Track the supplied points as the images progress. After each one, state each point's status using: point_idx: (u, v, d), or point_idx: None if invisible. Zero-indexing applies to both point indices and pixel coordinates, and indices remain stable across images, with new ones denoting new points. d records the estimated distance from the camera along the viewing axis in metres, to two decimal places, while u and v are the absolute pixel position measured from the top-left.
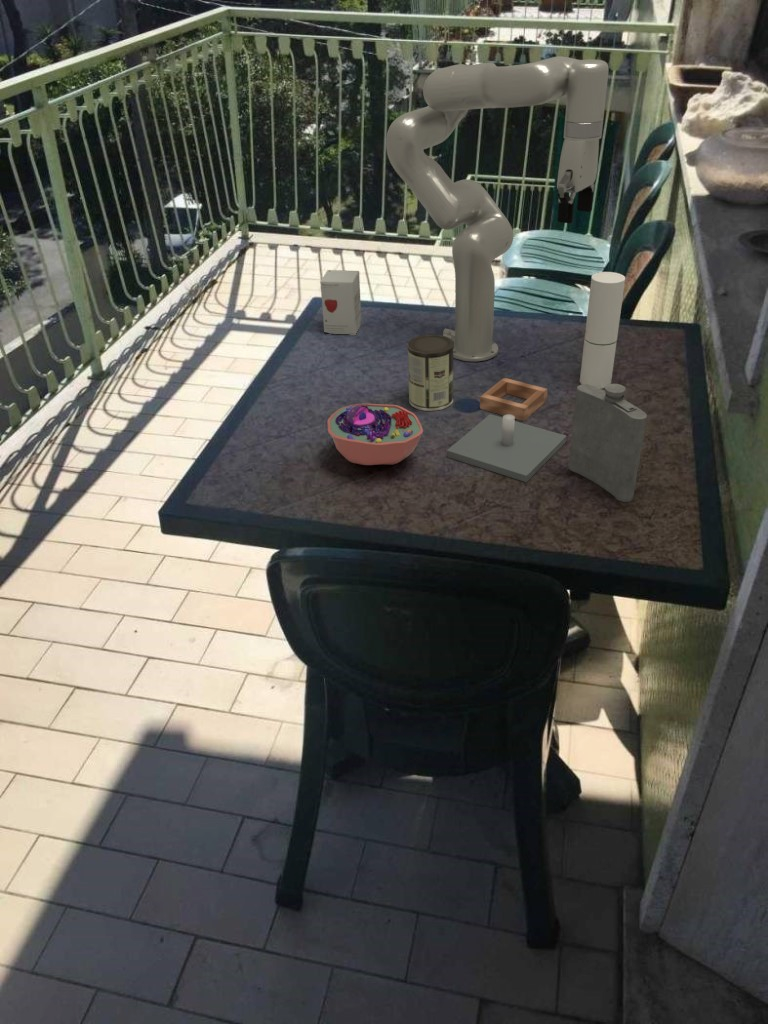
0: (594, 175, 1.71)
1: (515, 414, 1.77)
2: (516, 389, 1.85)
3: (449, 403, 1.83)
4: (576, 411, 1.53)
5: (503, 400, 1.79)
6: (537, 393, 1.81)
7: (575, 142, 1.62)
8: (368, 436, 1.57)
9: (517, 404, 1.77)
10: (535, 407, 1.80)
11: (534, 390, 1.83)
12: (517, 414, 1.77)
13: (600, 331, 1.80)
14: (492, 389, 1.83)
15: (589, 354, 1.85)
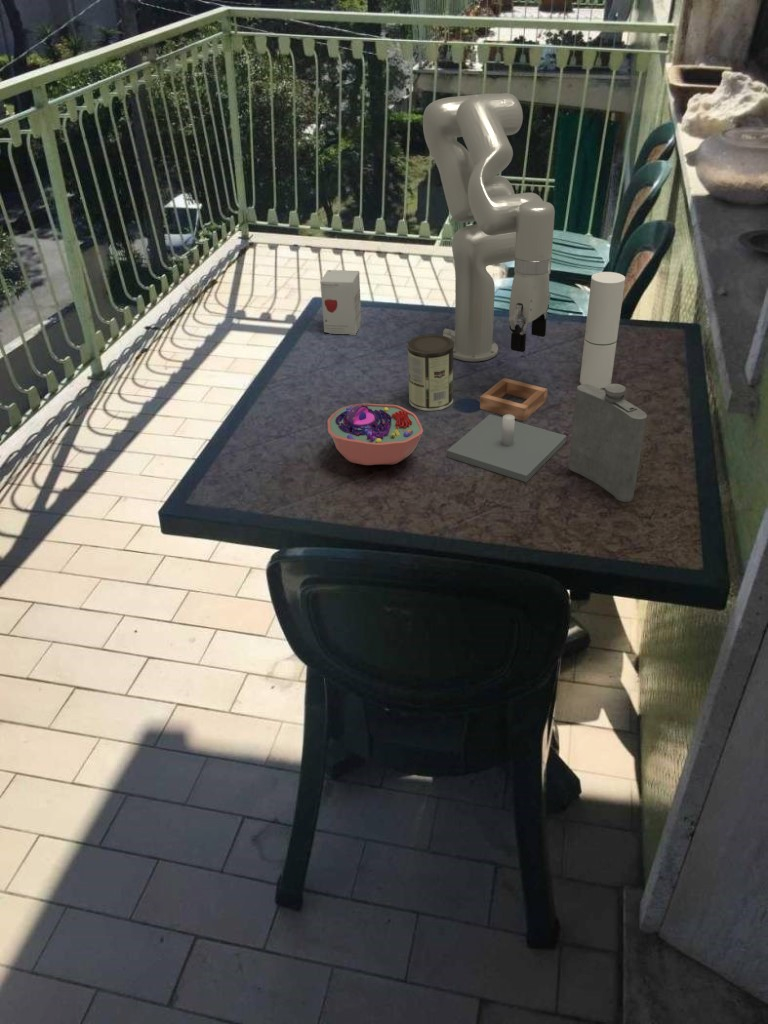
0: (546, 305, 1.75)
1: (515, 414, 1.77)
2: (516, 389, 1.85)
3: (449, 403, 1.83)
4: (576, 411, 1.53)
5: (503, 400, 1.79)
6: (537, 393, 1.81)
7: (524, 278, 1.66)
8: (368, 436, 1.57)
9: (517, 404, 1.77)
10: (535, 407, 1.80)
11: (534, 390, 1.83)
12: (517, 414, 1.77)
13: (600, 331, 1.80)
14: (492, 389, 1.83)
15: (589, 354, 1.85)
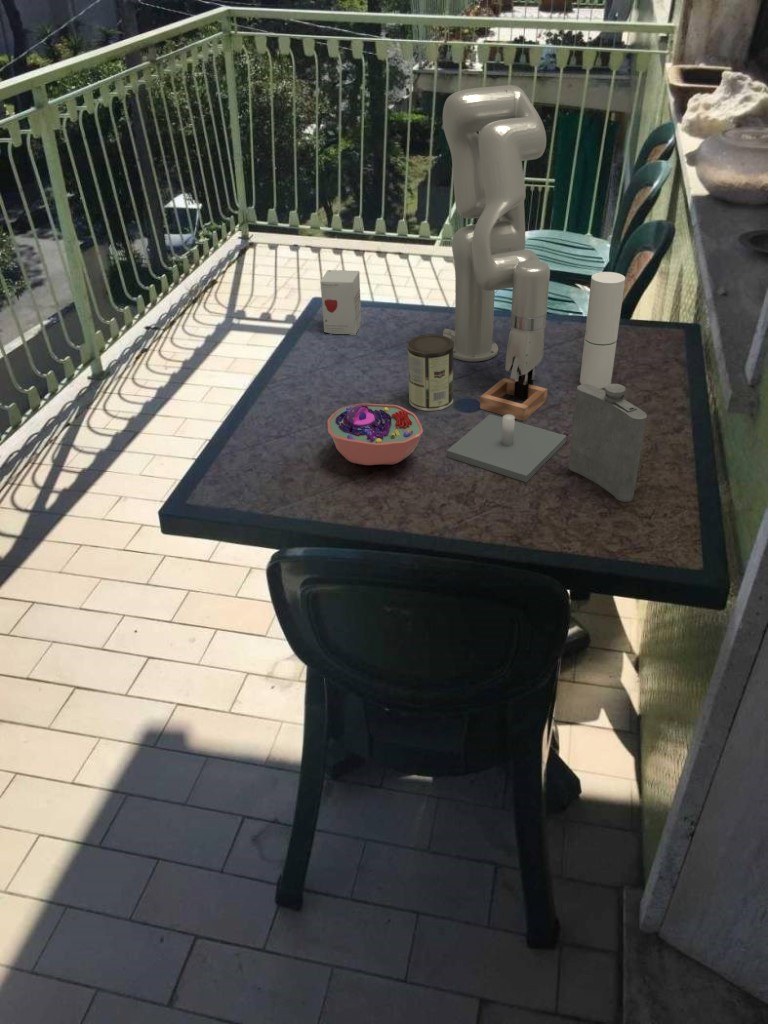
0: (540, 356, 1.82)
1: (515, 414, 1.77)
2: None
3: (449, 403, 1.83)
4: (576, 411, 1.53)
5: (503, 400, 1.79)
6: (537, 393, 1.81)
7: (520, 334, 1.74)
8: (368, 436, 1.57)
9: (517, 404, 1.77)
10: (535, 407, 1.80)
11: (534, 390, 1.83)
12: (517, 414, 1.77)
13: (600, 331, 1.80)
14: (492, 389, 1.83)
15: (589, 354, 1.85)
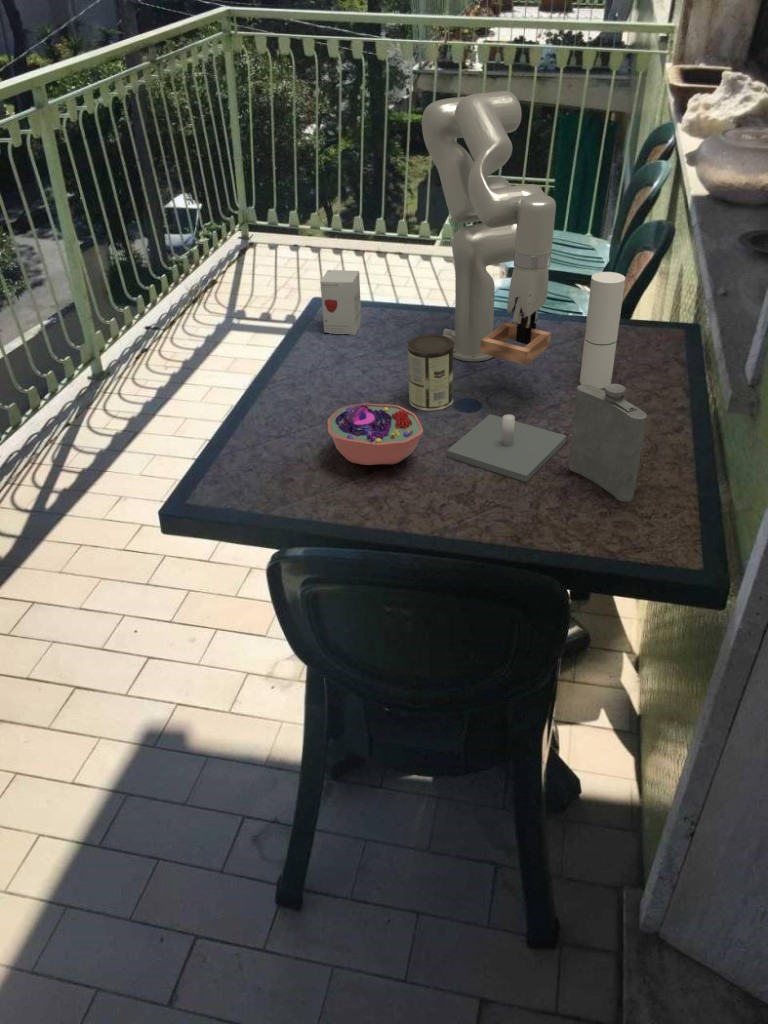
0: (544, 298, 1.75)
1: (517, 358, 1.71)
2: None
3: (449, 403, 1.83)
4: (576, 411, 1.53)
5: (505, 343, 1.72)
6: (540, 337, 1.74)
7: (524, 273, 1.66)
8: (368, 436, 1.57)
9: (519, 347, 1.70)
10: (537, 351, 1.73)
11: (537, 334, 1.76)
12: (519, 358, 1.70)
13: (600, 331, 1.80)
14: (493, 333, 1.76)
15: (589, 354, 1.85)
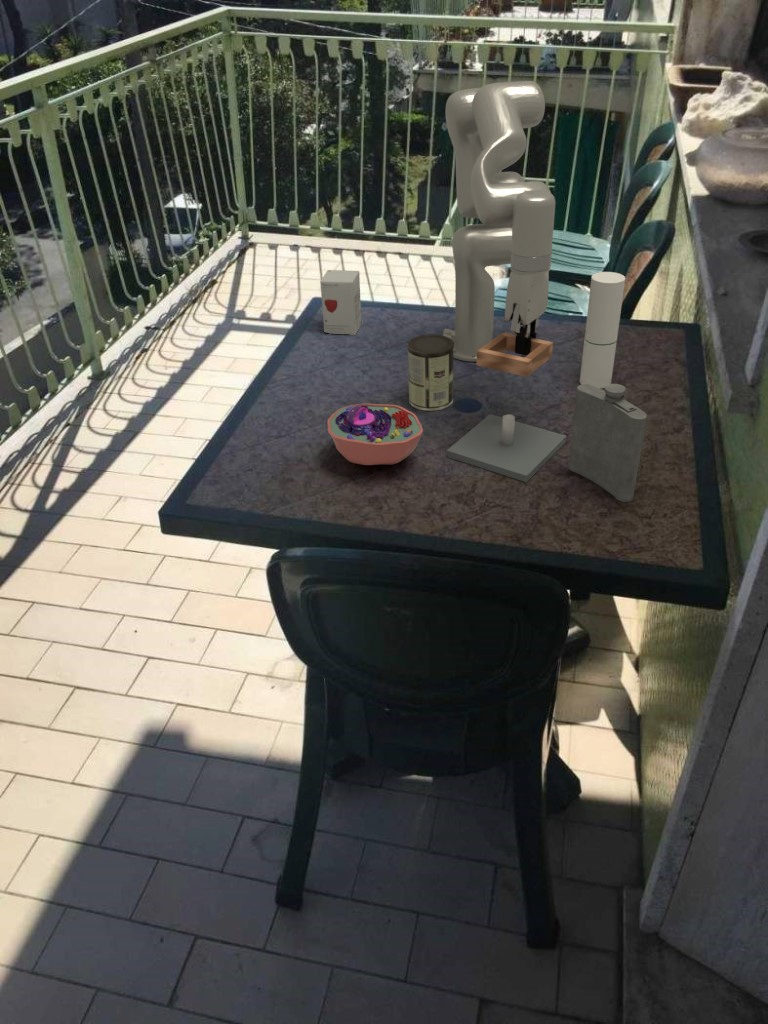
0: (545, 305, 1.60)
1: (517, 369, 1.55)
2: None
3: (449, 403, 1.83)
4: (576, 411, 1.53)
5: (503, 354, 1.56)
6: (541, 347, 1.58)
7: (522, 276, 1.51)
8: (368, 436, 1.57)
9: (519, 358, 1.55)
10: (539, 362, 1.57)
11: (538, 344, 1.61)
12: (519, 370, 1.55)
13: (600, 331, 1.80)
14: (490, 343, 1.61)
15: (589, 354, 1.85)
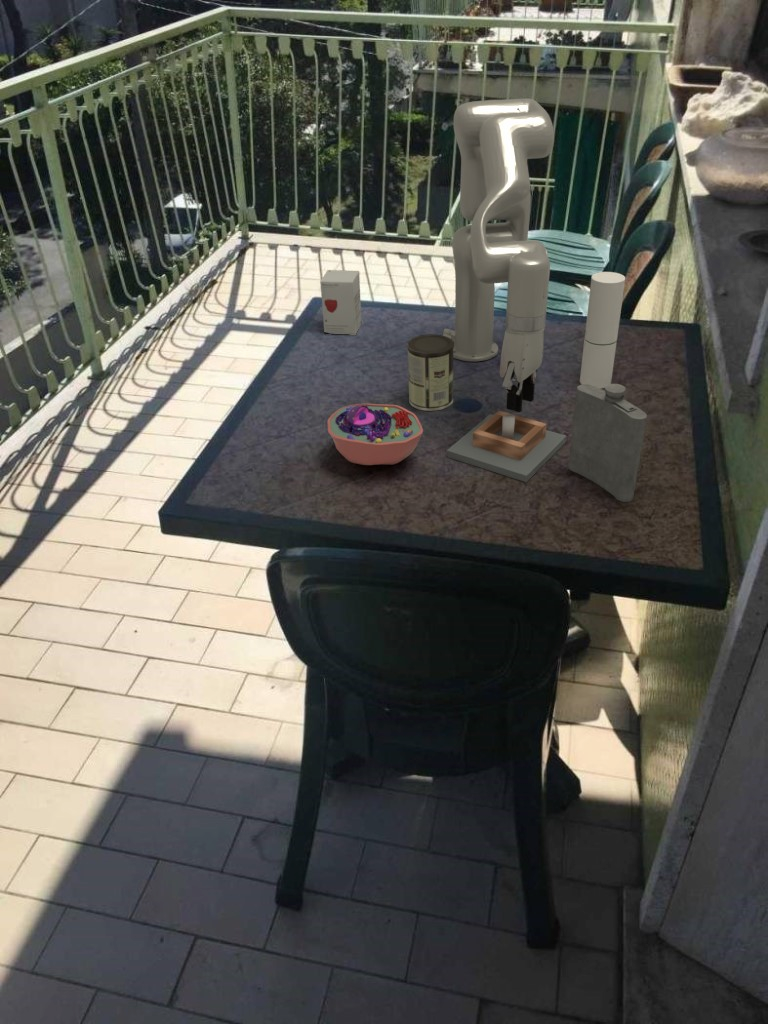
0: (539, 360, 1.62)
1: (511, 453, 1.62)
2: None
3: (449, 403, 1.83)
4: (576, 411, 1.53)
5: (498, 437, 1.63)
6: (535, 429, 1.65)
7: (516, 336, 1.53)
8: (368, 436, 1.57)
9: (513, 442, 1.61)
10: (533, 444, 1.64)
11: (532, 425, 1.67)
12: (513, 453, 1.61)
13: (600, 331, 1.80)
14: (486, 424, 1.67)
15: (589, 354, 1.85)
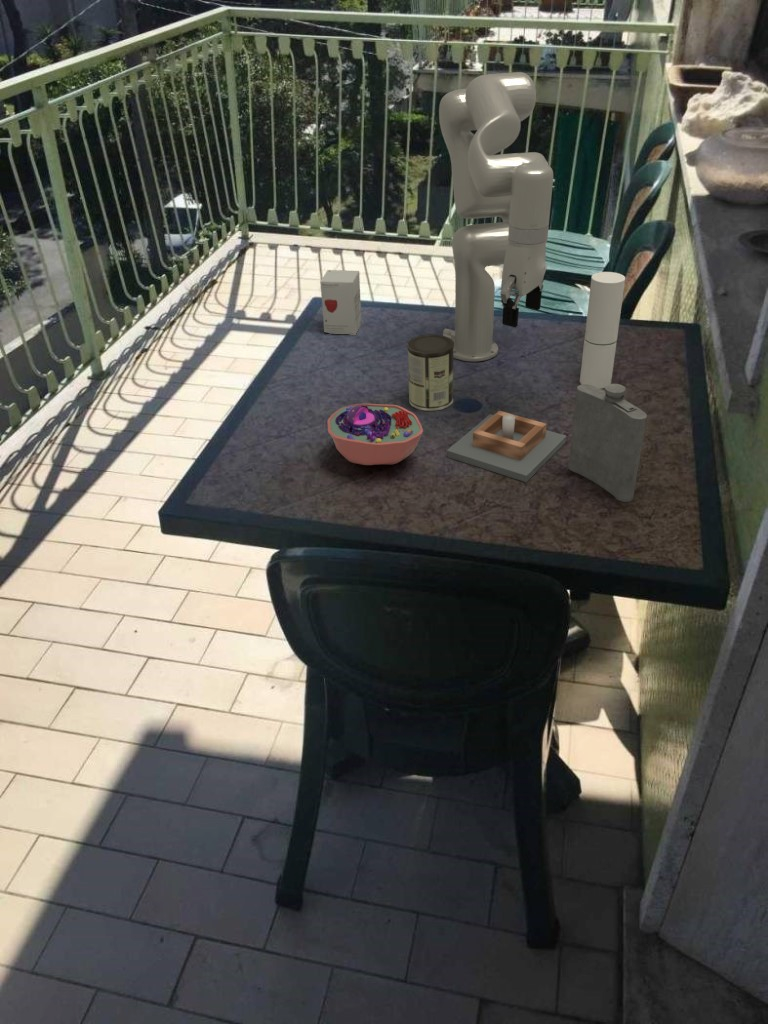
0: (541, 276, 1.62)
1: (511, 453, 1.62)
2: None
3: (449, 403, 1.83)
4: (576, 411, 1.53)
5: (498, 437, 1.63)
6: (535, 429, 1.65)
7: (518, 248, 1.54)
8: (368, 436, 1.57)
9: (513, 442, 1.61)
10: (533, 444, 1.64)
11: (532, 425, 1.67)
12: (513, 453, 1.61)
13: (600, 331, 1.80)
14: (486, 424, 1.67)
15: (589, 354, 1.85)
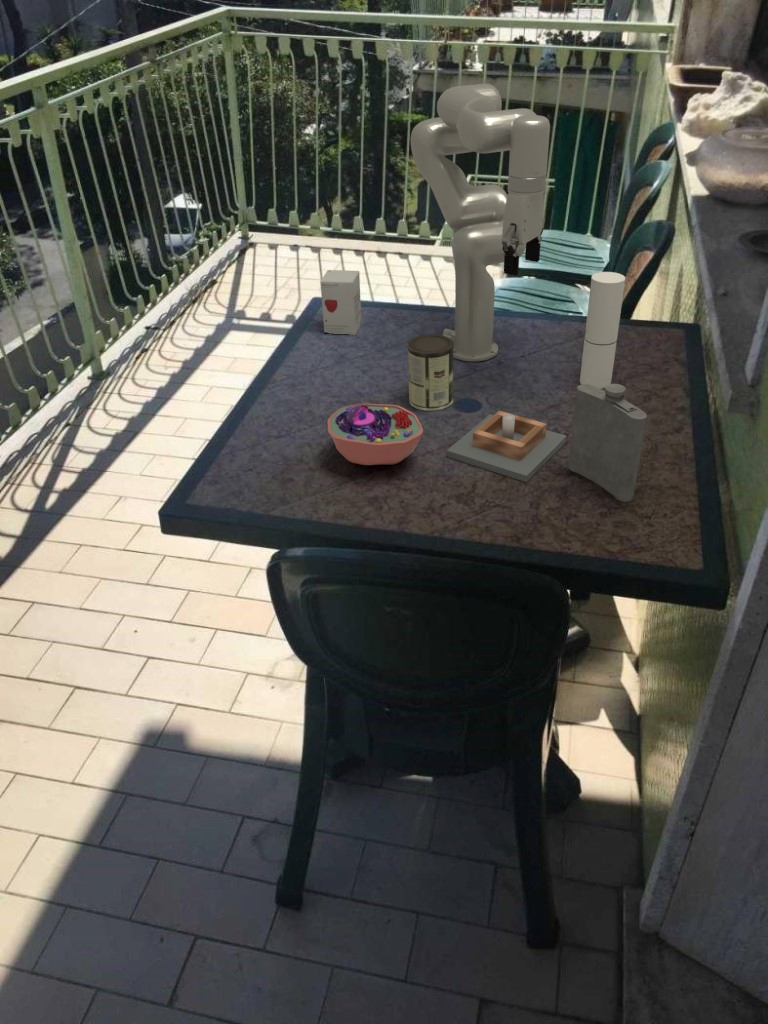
0: (540, 227, 1.71)
1: (511, 453, 1.62)
2: None
3: (449, 403, 1.83)
4: (576, 411, 1.53)
5: (498, 437, 1.63)
6: (535, 429, 1.65)
7: (518, 197, 1.62)
8: (368, 436, 1.57)
9: (513, 442, 1.61)
10: (533, 444, 1.64)
11: (532, 425, 1.67)
12: (513, 453, 1.61)
13: (600, 331, 1.80)
14: (486, 424, 1.67)
15: (589, 354, 1.85)
